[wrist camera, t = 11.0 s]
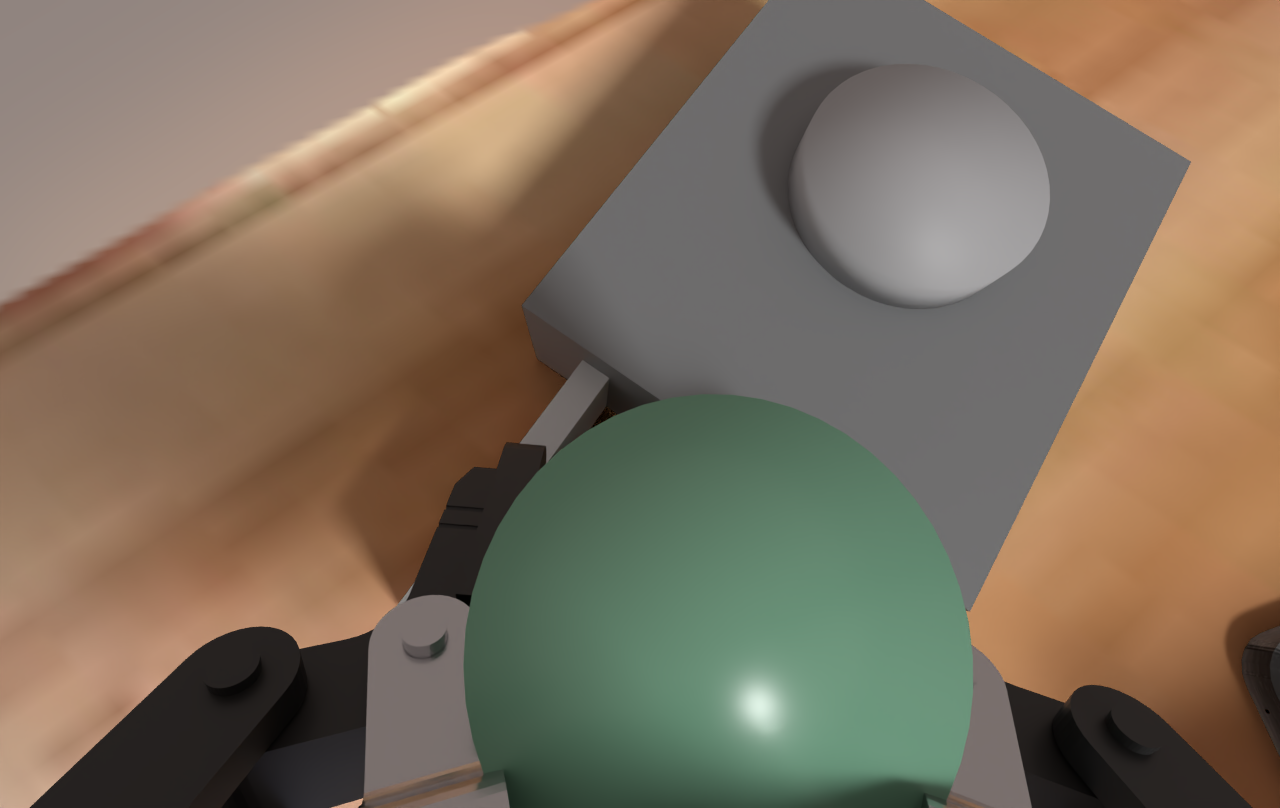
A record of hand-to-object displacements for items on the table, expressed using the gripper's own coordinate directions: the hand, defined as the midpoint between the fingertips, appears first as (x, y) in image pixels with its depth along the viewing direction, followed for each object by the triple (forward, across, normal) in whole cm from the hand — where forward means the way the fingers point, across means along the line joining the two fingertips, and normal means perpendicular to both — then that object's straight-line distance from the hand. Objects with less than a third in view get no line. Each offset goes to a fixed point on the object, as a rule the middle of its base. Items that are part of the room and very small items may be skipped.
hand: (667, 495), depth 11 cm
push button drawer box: (+7, -3, +1) cm, 8 cm away
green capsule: (+2, 0, +5) cm, 5 cm away
